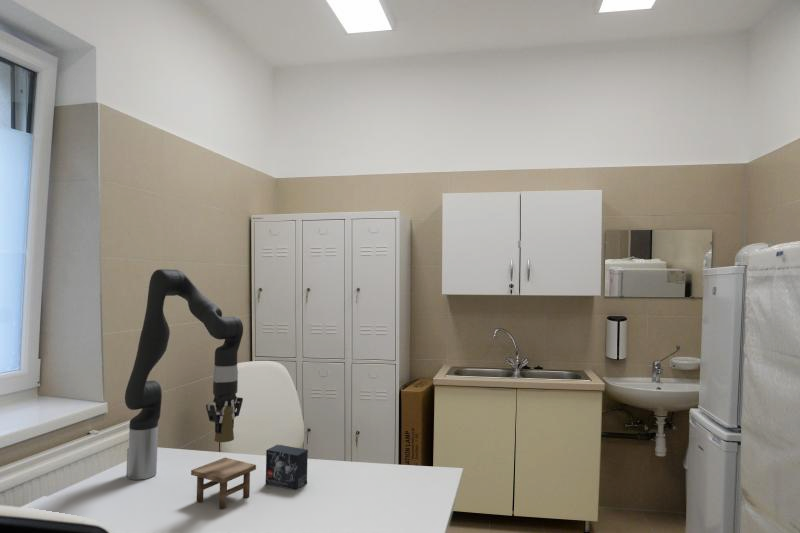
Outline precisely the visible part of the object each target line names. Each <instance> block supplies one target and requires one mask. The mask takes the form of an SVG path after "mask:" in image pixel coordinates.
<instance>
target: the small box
mask: <svg viewBox="0 0 800 533" xmlns="http://www.w3.org/2000/svg"><path fill="white" fill-rule="evenodd" d="M308 452H309V450H308V449H306V448H300V447H294V446H290V445H289V446H288V445H283V444H276V445H274V446H272V447H270V448H267V449H266V452H265V453H266V454H265V464H266V465H265V485H269V486H274V487H278V488H279V487H280V488H284V489H289V490H294V491H298V490H299V489H301V488H303V487H304V486H306V485H307V484H308Z"/></svg>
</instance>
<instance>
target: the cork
mask: <svg viewBox="0 0 800 533" xmlns="http://www.w3.org/2000/svg"><path fill="white" fill-rule="evenodd" d="M224 409H225V410H224V415H223V420H222V429H221V434H220V433H215V435H214V442H216V443H228V442H229V443H230V442H232V441H234V440H235V436H234V428H233V424H232V414H233V407H232V406H230V405H228V406H227V407H226V408H224ZM221 411H222V410H217V412H218V413H221ZM218 416H219V415H218ZM218 419H219V417H218Z"/></svg>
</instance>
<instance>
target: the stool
mask: <svg viewBox="0 0 800 533" xmlns="http://www.w3.org/2000/svg"><path fill="white" fill-rule="evenodd" d="M256 469H257V464H254V463H249V462H246V461H242V460H236V459H234V458H233V459H232V458H229V457H222V458H220V459H218V460H215V461H212V462H209V463H207V464H205V465H204V464H203V465H202V466H201V465H200V466H199V467H195V468H193V469H191V470H190V475H191V476H194V477H196V503H198V504H199V503H202V502H204V491H205V490H207V489H209V488H212V487H214V486H216V485H218V484H219V501H218V502H219V503H218V504H219V506H218V508H219V510H225V509H226V508H227V497H229V496H230V495H233V494H235V493H236V492H239V491H241V490H242V498H245V499H248V498H250V494H251V493H250V490H251V489H250V488H251V486H250V485H251V472H253V471H256ZM242 476H243V483H240V484H238V485H235V486H233V487H231V488H229V489H228V482H230V481H232V480H235V479H237V478H239V477H242ZM205 480H209V481H207V482H206V483H204V482H205Z"/></svg>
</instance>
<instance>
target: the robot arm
mask: <svg viewBox="0 0 800 533" xmlns="http://www.w3.org/2000/svg"><path fill="white" fill-rule="evenodd" d="M169 296H170V297H171V296H172V297H173V296H175V297H176V296H177V297H178V296H179V297H180V298H182V299H184V300H186V302H187V305H188V309H189V311H190V313H191V314H192V315H193V317H194V318H196V319H198V321H200V322H201V323H202V324H203V325H204V327H205V329H206V330H207V332H208V333H209V335H210V336H211V337H212V338H214V339H215V340H216V339H217V340H224V342H223V344H222V345H221V346H218V347H217V348H216V349H215V350H214V366H213V367H214V368H213V375H212V376H213V377H212V378H213V379H212V394H213V396H214V397H213V400H212V402H211V403H210V404H209V403H207V404H206V405H205V409H206V412H207V416H208V420H209V422H212V423H214V433H215V434H216V433H220V434H221V429H222V420H223V415H224V410H225V409H224V408H226V407H227V406H228V405H230V406H232V407H233V414H232V424H233V429H234V427H235V424H234V423H235V418H236V417H239V416H240V412H241V409H242V405H243V400H244V398H243V397H239V396H237V394H238V379H239V378H238V377H239V375H238V374H239V370H238V352H239V349H240V346H241V341H242V339H243V335H244V325H243V322H242V320H241V319H240V318H239V317H237V316H225V317H223V312H222V310H221V308H219V307H218V306H217V305H216V304H215V303H214V302H212V301H210V299H208V298H207V297H206V296H205V295H204V294H203V293H202V292H201V291H200V290H199V288H197V287H196V285H195V284H194V283H193V281H191V279H190V278H189V277H188V276H187V275H186V273H184V272H183V271H181V270H178V269H170V268H169V269H168V268H167V269H165V268H160V269H159V268H158V269H155V271H153V272H152V274H151V277H150V280H149V284H148V293H147V301H146V310H145V314H144V320H143V324H142V328H141V332H140V336H139V341H138V345H137V351H136V355H135V360H134V363H133V367H132V371H131V374H130V377H129V380H128V383H127V385H126V388H125V393H124V402H125V403H124V404H125V405H126V407H127V408H128V409H129V410H131V411H137V410H141V411H140V412H139V413H138V414H137V415H135V416H134V417H132V418H131V419H130V420H129V423H128V424H129V426H128V427H129V428H128V429H129V431H128V433H129V434H128V436H129V437H128V448H127V449H126V450H127V451H126V476H127V478H128V479H130V480H134V481H135V480H137V481H138V480H139V481H140V480H147V479H149V478H150V479H151V478H153V477H155V476H156V475H157V467H158V466H157V464H158V439H159V438H158V437H159V436H158V435H159V434H158V433H159V420H160V417H161V408H162V396H163V394H162V392H163V390H162V387H161V385H160V383H159V382H158V381H157V380H148V378H149V375H150V374H151V372H152V370H153V369H154V367H155V366H156V365H157V364H158V363H159V361H160V360H161V358H162V357H163V356H164V355H165V353H166V351H167V348H168V345H169V339H170V335H171V334H170V333H171V331H170V330H171V329H170V327H169V324H168V321H167V318H166V316H165V313H164V307H165V306H164V305H165V301H166V300H165V299H166V297H169ZM217 410H222V411H221V413H218V412H217ZM218 415H219V416H218ZM218 417H219V419H218Z"/></svg>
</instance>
